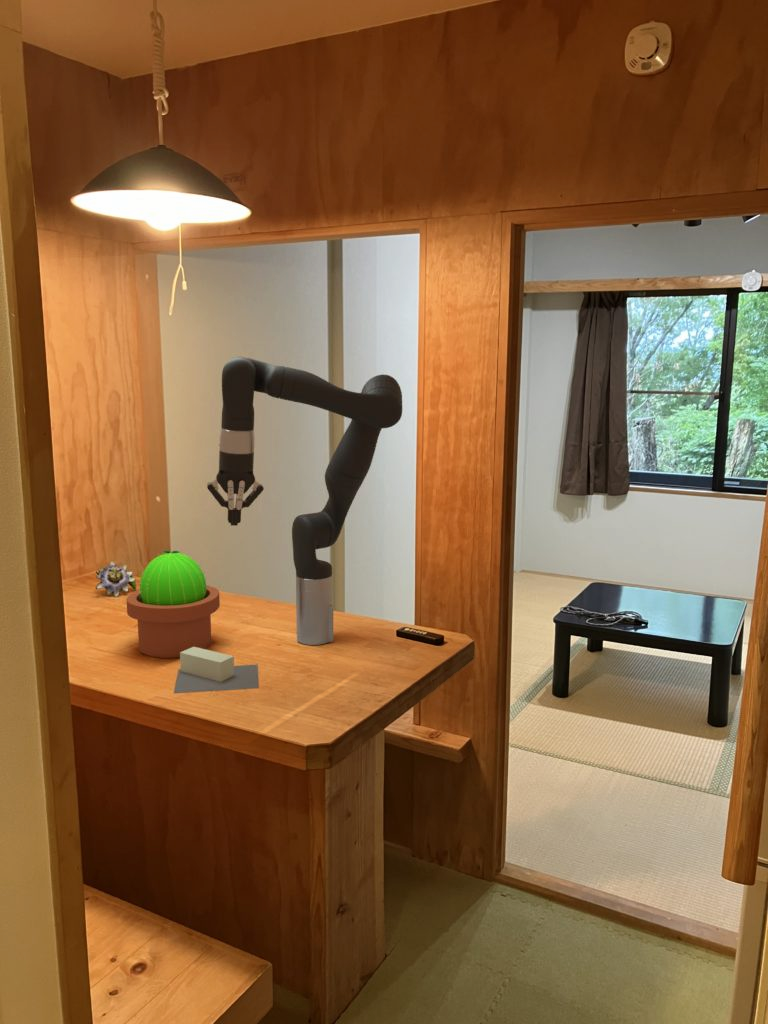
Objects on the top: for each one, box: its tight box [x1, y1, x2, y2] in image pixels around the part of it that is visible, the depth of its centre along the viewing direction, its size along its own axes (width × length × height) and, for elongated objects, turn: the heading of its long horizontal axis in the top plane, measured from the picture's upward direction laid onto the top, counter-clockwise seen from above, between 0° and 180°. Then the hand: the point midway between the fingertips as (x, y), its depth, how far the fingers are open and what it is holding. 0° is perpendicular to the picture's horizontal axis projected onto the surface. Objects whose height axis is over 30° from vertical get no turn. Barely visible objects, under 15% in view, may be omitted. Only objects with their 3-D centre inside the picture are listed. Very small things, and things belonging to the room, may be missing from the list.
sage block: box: [179, 647, 235, 682], centre depth 180 cm, size 4×4×12 cm
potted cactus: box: [126, 550, 221, 659], centre depth 198 cm, size 22×22×25 cm
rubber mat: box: [173, 663, 260, 694], centre depth 178 cm, size 18×14×1 cm
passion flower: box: [95, 561, 137, 598], centre depth 247 cm, size 11×11×12 cm
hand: (234, 524), depth 180 cm, fingers closed
